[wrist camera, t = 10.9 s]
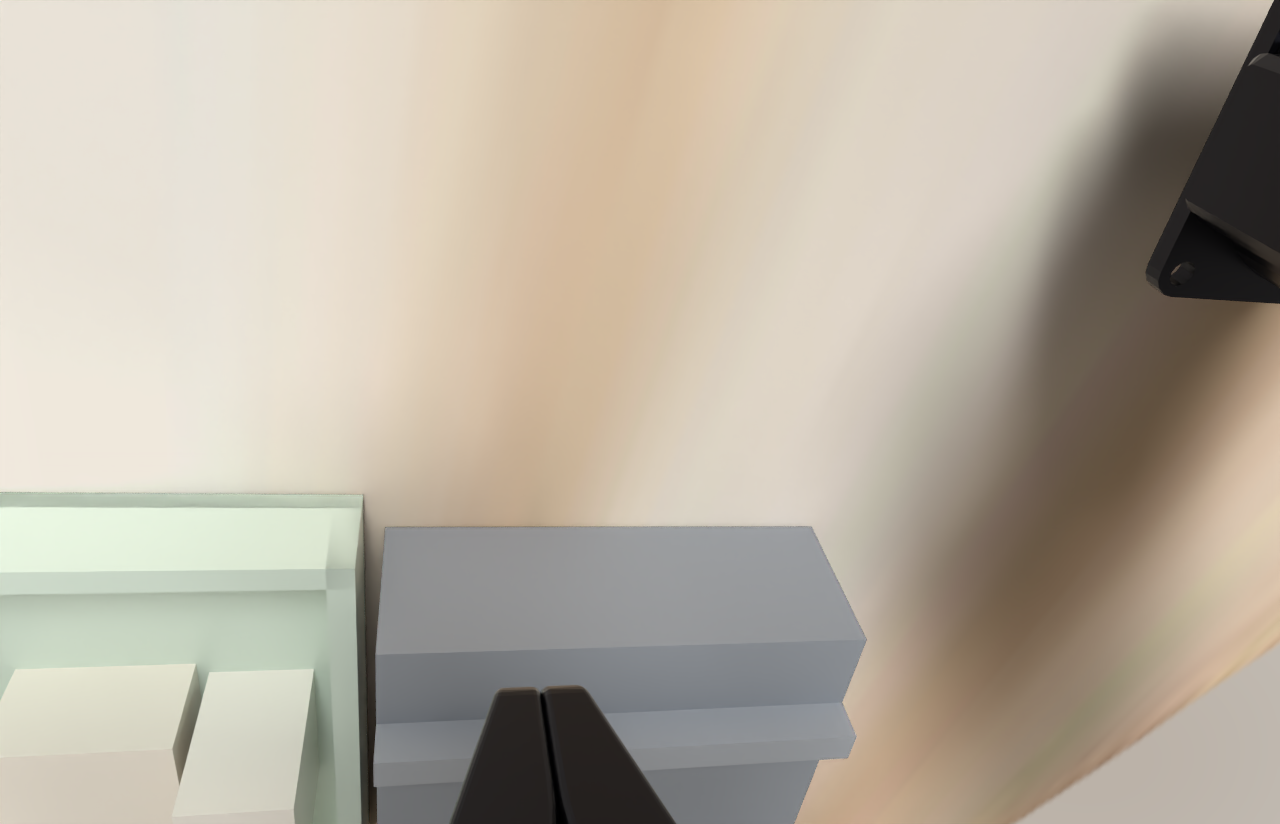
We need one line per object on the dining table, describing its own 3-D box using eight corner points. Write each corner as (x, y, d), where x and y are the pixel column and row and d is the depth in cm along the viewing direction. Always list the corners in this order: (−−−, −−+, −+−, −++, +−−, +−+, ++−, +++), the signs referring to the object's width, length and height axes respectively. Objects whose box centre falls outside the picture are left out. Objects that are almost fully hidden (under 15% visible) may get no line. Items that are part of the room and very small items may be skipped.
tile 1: (-28, 759, 20) (15, 669, 22) (12, 864, 22) (48, 773, 24) (172, 749, 21) (195, 663, 23) (192, 850, 23) (212, 764, 25)
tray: (362, 494, 22) (354, 568, 20) (369, 843, 29) (364, 922, 27) (-188, 490, 19) (-263, 575, 17) (-27, 872, 27) (-66, 962, 25)
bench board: (811, 526, 25) (883, 673, 21) (724, 799, 31) (766, 951, 27) (385, 527, 22) (372, 693, 18) (385, 823, 29) (376, 994, 25)
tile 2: (293, 808, 21) (171, 817, 20) (301, 906, 23) (191, 916, 22) (313, 668, 24) (209, 672, 23) (319, 766, 26) (224, 771, 26)
